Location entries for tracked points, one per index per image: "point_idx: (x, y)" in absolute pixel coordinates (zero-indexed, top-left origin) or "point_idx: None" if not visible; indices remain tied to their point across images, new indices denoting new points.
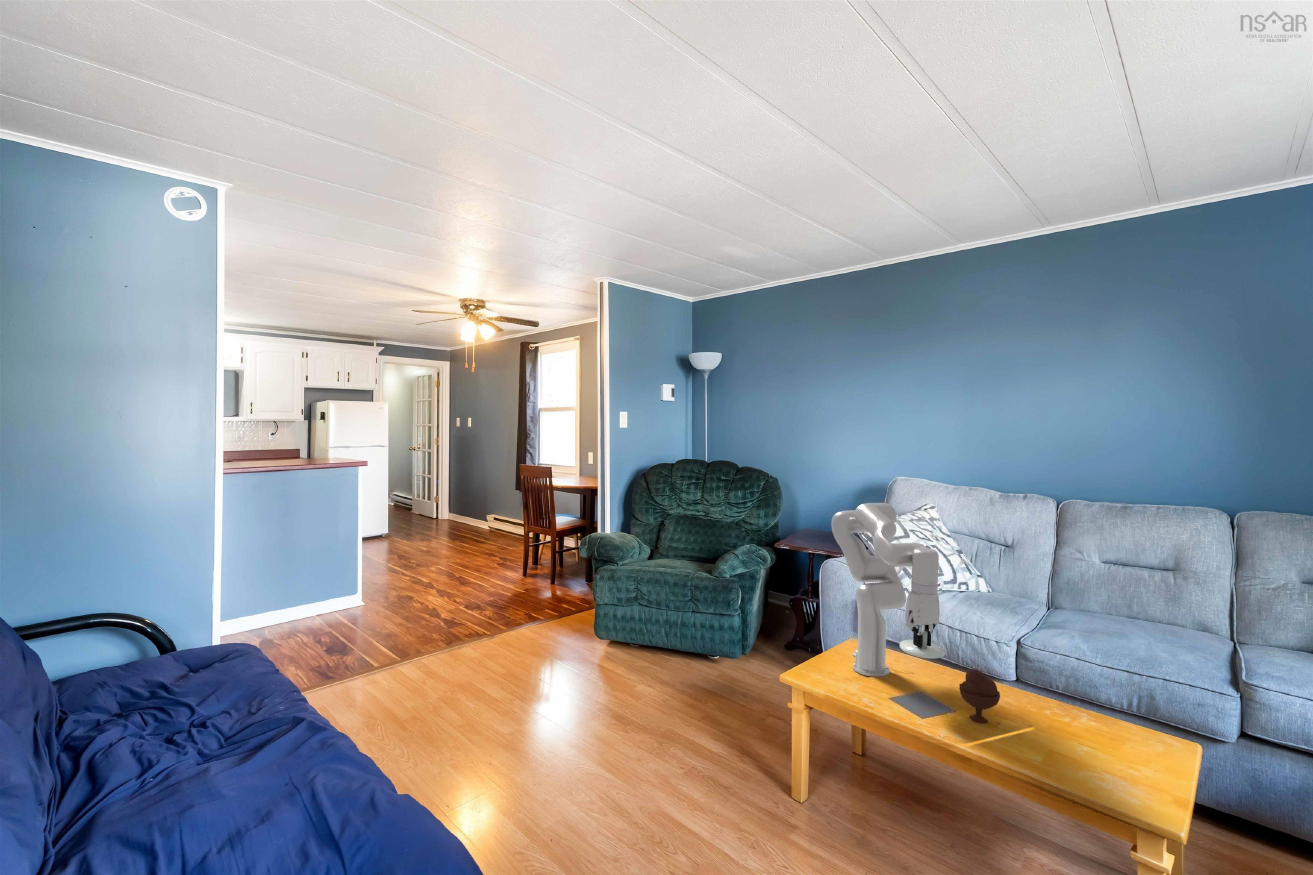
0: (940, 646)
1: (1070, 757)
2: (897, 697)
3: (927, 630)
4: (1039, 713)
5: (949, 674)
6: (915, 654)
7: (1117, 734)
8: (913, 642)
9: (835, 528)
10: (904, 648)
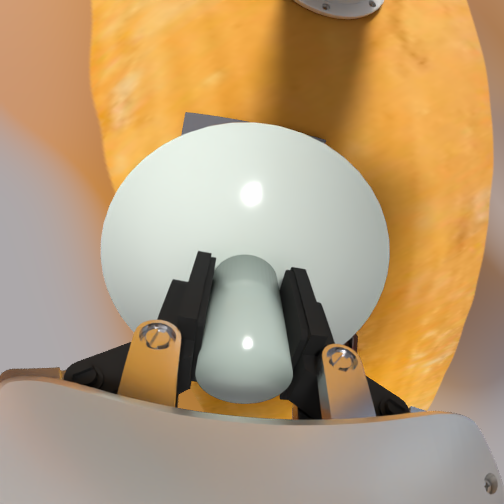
0: (364, 322)
1: (291, 406)
2: (216, 124)
3: (300, 395)
4: (416, 333)
5: (479, 140)
6: (120, 309)
7: (409, 392)
8: (195, 259)
9: None
10: (109, 235)
